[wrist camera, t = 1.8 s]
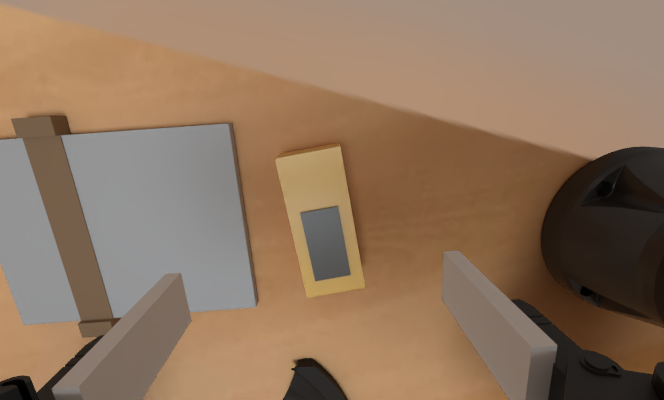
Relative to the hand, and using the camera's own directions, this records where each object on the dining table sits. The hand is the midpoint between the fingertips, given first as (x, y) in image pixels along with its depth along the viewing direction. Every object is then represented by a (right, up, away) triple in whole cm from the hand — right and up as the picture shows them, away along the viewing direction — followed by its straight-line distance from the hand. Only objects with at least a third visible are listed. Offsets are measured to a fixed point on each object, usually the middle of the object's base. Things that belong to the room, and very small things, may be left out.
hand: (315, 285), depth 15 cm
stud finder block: (0, +3, +13) cm, 13 cm away
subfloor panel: (-18, +2, +12) cm, 22 cm away
